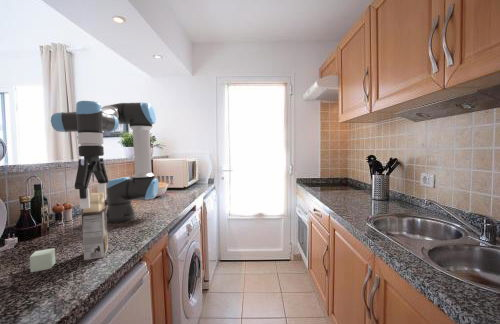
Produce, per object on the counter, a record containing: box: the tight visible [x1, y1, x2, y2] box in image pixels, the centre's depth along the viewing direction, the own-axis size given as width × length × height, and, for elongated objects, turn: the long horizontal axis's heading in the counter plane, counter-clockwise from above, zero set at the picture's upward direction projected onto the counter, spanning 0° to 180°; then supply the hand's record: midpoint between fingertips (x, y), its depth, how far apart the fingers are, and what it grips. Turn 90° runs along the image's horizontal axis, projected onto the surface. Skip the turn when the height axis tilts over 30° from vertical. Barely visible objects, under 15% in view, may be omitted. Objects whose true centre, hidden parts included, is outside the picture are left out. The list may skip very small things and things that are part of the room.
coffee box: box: [81, 207, 109, 261], centre depth 87 cm, size 9×6×16 cm
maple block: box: [82, 192, 106, 214], centre depth 86 cm, size 5×5×6 cm
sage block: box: [29, 247, 56, 273], centre depth 78 cm, size 5×5×5 cm
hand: (94, 203), depth 86 cm, fingers open, 13 cm apart
